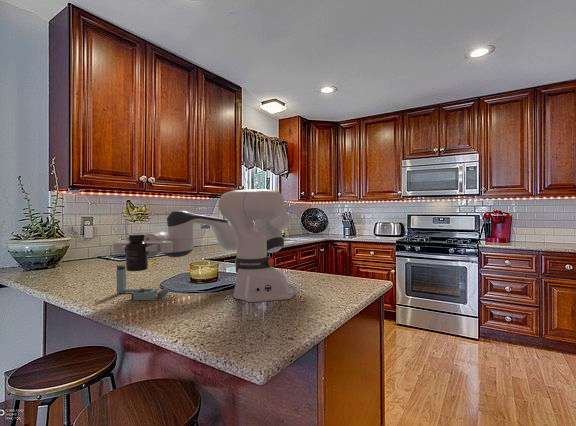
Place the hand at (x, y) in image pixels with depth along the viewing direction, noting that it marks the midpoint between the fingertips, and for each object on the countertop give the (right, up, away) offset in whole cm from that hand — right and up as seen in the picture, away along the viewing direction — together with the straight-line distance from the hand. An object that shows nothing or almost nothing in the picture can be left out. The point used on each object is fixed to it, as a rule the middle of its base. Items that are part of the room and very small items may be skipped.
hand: (135, 249), depth 109 cm
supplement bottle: (0, -7, +1) cm, 7 cm away
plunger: (-5, -18, +11) cm, 22 cm away
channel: (0, -19, +11) cm, 22 cm away
